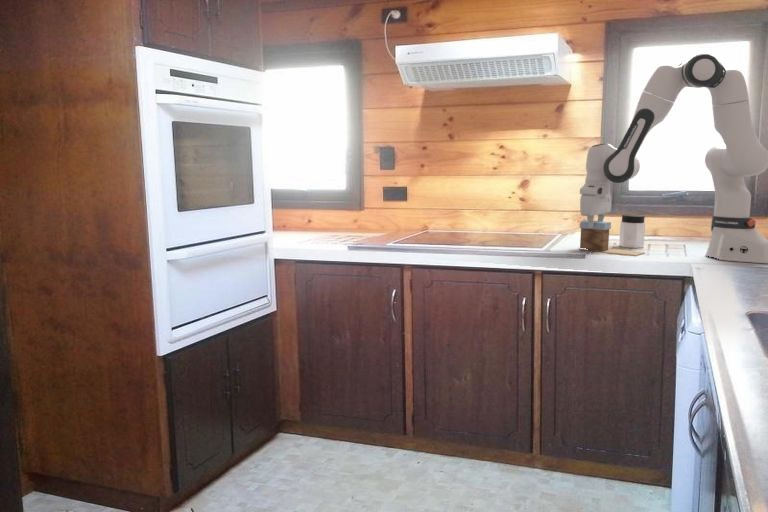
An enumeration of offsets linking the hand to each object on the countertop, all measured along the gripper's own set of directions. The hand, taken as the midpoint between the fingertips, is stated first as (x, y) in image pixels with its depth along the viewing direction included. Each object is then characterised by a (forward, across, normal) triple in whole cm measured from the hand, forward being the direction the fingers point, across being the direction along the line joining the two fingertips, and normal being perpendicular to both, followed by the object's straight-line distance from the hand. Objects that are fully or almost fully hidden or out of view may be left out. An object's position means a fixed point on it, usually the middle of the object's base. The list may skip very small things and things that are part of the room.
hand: (595, 226), depth 258 cm
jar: (+9, -19, +7) cm, 22 cm away
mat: (+8, 0, +11) cm, 14 cm away
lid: (+2, 0, 0) cm, 2 cm away
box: (+8, 0, 0) cm, 8 cm away
